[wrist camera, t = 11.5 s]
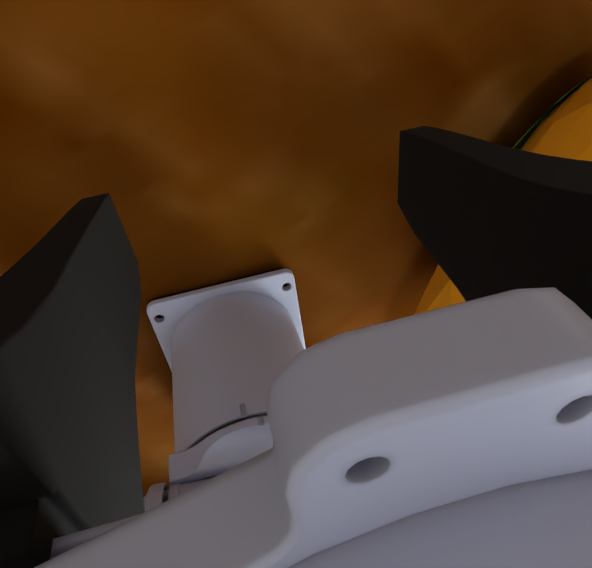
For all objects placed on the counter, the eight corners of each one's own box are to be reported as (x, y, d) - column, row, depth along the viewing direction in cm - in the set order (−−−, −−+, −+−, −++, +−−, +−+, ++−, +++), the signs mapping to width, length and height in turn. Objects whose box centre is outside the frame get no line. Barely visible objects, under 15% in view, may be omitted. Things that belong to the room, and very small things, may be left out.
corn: (827, 132, 19) (484, 446, 27) (669, 92, 25) (429, 355, 33) (746, 20, 16) (384, 413, 23) (589, 6, 22) (344, 320, 30)
